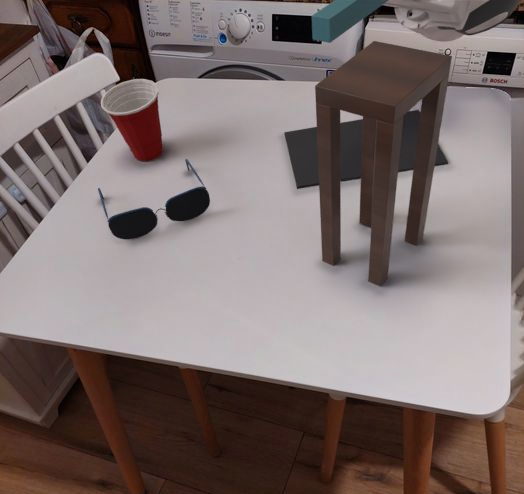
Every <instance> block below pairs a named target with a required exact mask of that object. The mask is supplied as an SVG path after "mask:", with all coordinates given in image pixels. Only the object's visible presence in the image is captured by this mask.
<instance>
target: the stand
mask: <svg viewBox="0 0 524 494" xmlns="http://www.w3.org/2000/svg"><path fill="white" fill-rule="evenodd" d="M452 59H453V56H452V55H449V54H444V53H440V52H439V53H438V52H435V51H434V52H433V51H429V50H423V49H418V48H413V47H408V46H403V45H398V44H392V43H387V42H382V41H376V40H374V41H372V42H371V43H369V44H368V45H366V46H365V47H364V48H363V49H361V50H360V51H359V52H357V53H356V54H355V55H353V56H352V57H351V58H350V59H348V60H346V61H345V62H344V63H343V64H342V65H340V66H339V67H338V68H336V69H335V70H334V71H332V72H331V73H330V74H329V75H327V76H326V77H325V78H323V79H322V80H320V81H319V82H318V83H317V84H315V85H314V86H315V87H314V92H315V93H314V94H315V115H316V117H315V118H316V119H315V120H316V127H317V145H318V169H319V185H318V190H319V191H318V193H319V212H320V213H319V214H320V215H319V216H320V236H321V237H320V241H321V260H322V262H325V263H327V264H328V265H331V266H334V265H335V264H337V262H338V261H339V260H340V259H341V257H342V253H341V251H342V250H341V249H342V247H341V246H342V245H341V244H342V237H341V234H342V233H341V231H342V229H341V222H342V221H341V220H342V219H341V215H342V212H341V211H342V210H341V209H342V208H341V207H342V206H341V203H342V202H341V200H342V199H341V196H342V195H341V191H342V190H341V181H340V123H341V111H343V112H347V113H349V114H354V115H357V116H361V117H362V119H363V128H362V158H361V178H360V189H359V190H360V191H359V193H360V194H359V218H358V219H359V220H358V221H359V222H358V224H360V225H363V226H365V227H368V228H370V242H369V257H368V258H369V260H368V262H369V263H368V279H367V282H370V283H371V284H373V285H376V286H378V287H381V286H382V285H383V284H384V283H385V282H386V281H387V279H388V277H389V268H390V257H391V247H392V239H393V237H392V236H393V226H394V216H395V209H396V208H395V206H396V197H397V187H398V186H397V185H398V176H399V172H398V167H399V157H400V146H401V136H402V126H403V116H404V115H405V114H406V113H407V112H408V111H411V110H412V109H413V108H414V107H415V106H416V105H417V104H418V103H419V102H420V101H421V105H420V111H419V112H420V120H419V129H418V137H417V145H416V153H415V161H414V169H413V170H412V178H411V186H410V192H409V193H410V194H409V203H408V209H407V218H406V226H405V234H404V242H406V243H408V244H411V245H413V246H418V244H419V243H420V242H421V241H422V240H423V239H424V235H425V234H424V233H425V228H426V221H427V215H428V209H429V202H430V196H431V191H432V185H433V177H434V171H435V167H436V166H435V160H436V153H437V147H438V145H439V140H440V134H441V126H442V122H443V116H444V109H445V102H446V96H447V90H448V84H449V78H450V71H451V66H452V65H451V64H452Z"/></svg>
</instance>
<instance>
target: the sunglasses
mask: <svg viewBox="0 0 524 494" xmlns="http://www.w3.org/2000/svg"><path fill="white" fill-rule="evenodd" d="M184 160H185V165H186V168H187V171H188V172H189V171H190V169H191V171H192V172H193V174H194V175H195V177H196V178H197V179H198V181H199V183H201V185H202V186H195V187H193V188H190V189H188V190H186V191H183V192H181V193H178V194H176V195H174V196H172V197H170V198H168V199H167V201H166V203H165V204H164V207H165V208H158V209H157V210H156V211H155V212H154V210H153V209H152V208H150V207H147V206H146V207H145V206H144V207H138V208H134V209H131V210H127V211H123V212H120V213H116V214H114V215H112V216H110V217H109V216H108V212H107V208H106V205H105V201H104V200H105V197H104V195H103V193H102V190H101V188H100V187H97V192H98V195H99V198H100V201H101V205H102V209H103V211H104V214H105V217H106V219H107V224H108V229H109V230H110V233H111V234H112V235H113V236H114V237H115V238H117V239H119V240H120V239H121V240H125V241H126V240H127V241H128V240H135V239H138V238H142V237H144V236H146V235H148V234H149V233H151V232H152V231H153V230H154V229H156V228H157V226H158V221H159V217H158V214H157V213H158V212H159V211H160V210H163V211H164V214H165V216H166V217H167V218H168V219H169V220H170V221H172V222H188V221H191V220H194V219H196V218H198V217H199V216H201V215H202V214H204V213H205V212H206V211H207V209H208V208H209V206H210V204H211V197H210V193H209V190H208V189H207V187H206V186H205V184H204V183H203V181H202V179H201V178H200V176H199V175H198V173H197V171H196V170H195V168H194V167H193V165H192V164H191V162H190V160H189V159H187V158H186V159H184Z"/></svg>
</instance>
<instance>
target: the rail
mask: <svg viewBox="0 0 524 494" xmlns="http://www.w3.org/2000/svg"><path fill="white" fill-rule="evenodd" d="M387 1H388V0H333V1H331V2H330V3H329V4H327V5H325V6H324V7H323V8H322V9H319V10H318V11H317V12H315V13H313V14H312V15H311V31H312V32H311V33H312V40H314V41H318V42H324V43H328V44H330V43H332V42H333V41H335V40H336V39H338V38H339V37H340V36H342V35H343V34H345V33H346V32H347V31H349V30H350V29H352V28H353V27H354V26H356V25H357V24H358V23H360V22H361V21H363V20H364V19H365V18H367V17H368V16H369V15H372V13H374V12H375V11H376V10H377V9H379V8H380V7H382V6H384V5H383V4H384V3H386V2H387Z"/></svg>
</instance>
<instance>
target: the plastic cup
mask: <svg viewBox="0 0 524 494" xmlns="http://www.w3.org/2000/svg"><path fill="white" fill-rule="evenodd" d="M159 95H160V93H159V86H158V84H157V83H156V82H154V81H153V80H150V79H146V78H135V79H130V80H129V79H128V80H126V81H122V82H120V83H118V84H116V85H114V86H112V87H111V88H110V89H108V90H107V91H106V92H105V93H104V94H103V96H102V98H101V99H100V108H101V109H102V110H103V111H104V112H105V113H106V114H108V115H109V117H110V118H111V120H112V121H113V123H114V124H115V126H116V127H117V130H118V132H119V133H120V135H121V137H122V138H123V140H124V142H125V143H126V145H127V146H128V149H129V150H130V152H131V153H132V155H133V156H134V158H135V159H136V160H137V161H139V162H151V161H154V160H157V159H158V158H159V157H161V156H162V155H163V153H164V143H163V137H162V136H163V134H162V127H161V126H162V125H161V119H160V112H159V99H158V98H159V97H158V96H159Z"/></svg>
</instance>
